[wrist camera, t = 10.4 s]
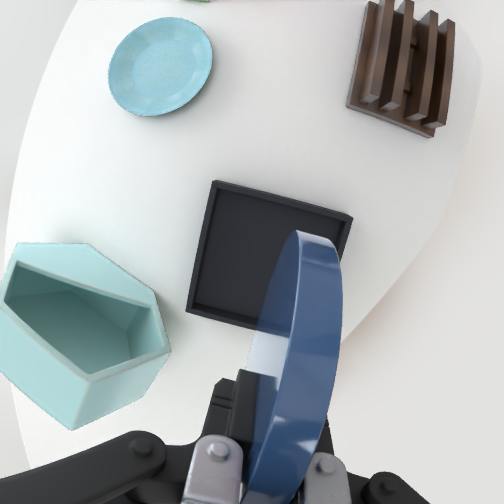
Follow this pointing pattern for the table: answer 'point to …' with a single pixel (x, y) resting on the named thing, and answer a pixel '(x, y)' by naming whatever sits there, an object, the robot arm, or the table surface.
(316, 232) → the black shallow tray
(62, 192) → the table surface
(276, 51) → the table surface
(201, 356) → the table surface
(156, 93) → the saucer
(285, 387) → the plate
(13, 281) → the planter
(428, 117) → the rack
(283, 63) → the table surface
